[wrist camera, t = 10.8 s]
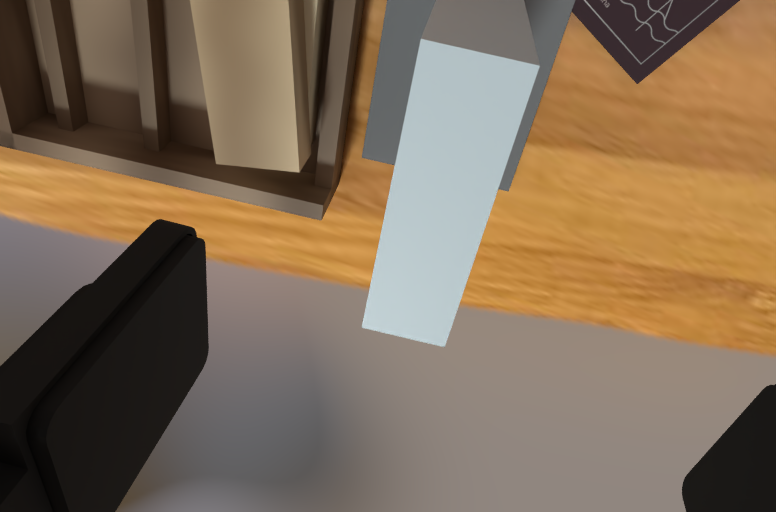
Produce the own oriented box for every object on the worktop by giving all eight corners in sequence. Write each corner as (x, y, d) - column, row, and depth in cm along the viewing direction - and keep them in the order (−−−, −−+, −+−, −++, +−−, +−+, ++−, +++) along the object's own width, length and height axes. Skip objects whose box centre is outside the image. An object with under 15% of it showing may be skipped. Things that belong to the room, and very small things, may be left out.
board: (516, -31, 21) (539, 65, 11) (462, 161, 25) (444, 346, 16) (453, -45, 21) (420, 38, 11) (411, 149, 25) (361, 327, 16)
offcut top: (303, -10, 20) (288, 0, 19) (311, 153, 24) (299, 172, 22) (210, -16, 20) (188, -7, 19) (232, 145, 24) (216, 163, 23)
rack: (377, -97, 21) (359, -91, 18) (338, 183, 28) (321, 220, 25) (-12, -183, 21) (-91, -190, 18) (48, 116, 28) (-2, 145, 25)
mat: (589, -51, 20) (591, -48, 20) (508, 185, 26) (508, 191, 26) (403, -91, 21) (401, -90, 20) (364, 152, 26) (361, 157, 26)
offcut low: (330, -27, 21) (319, -18, 20) (313, 140, 25) (302, 157, 24) (242, -46, 21) (224, -40, 20) (239, 123, 25) (224, 139, 24)
